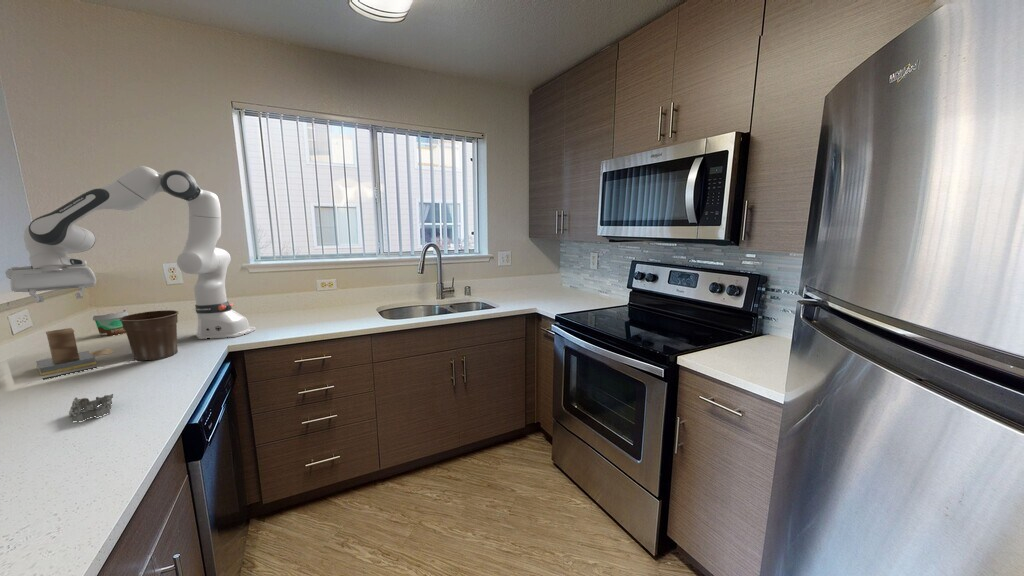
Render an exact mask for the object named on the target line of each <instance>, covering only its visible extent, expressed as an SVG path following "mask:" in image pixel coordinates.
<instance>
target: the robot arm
mask: <svg viewBox="0 0 1024 576" xmlns="http://www.w3.org/2000/svg"><path fill="white" fill-rule="evenodd" d="M159 193H166V194H169V196H172V197H174V198H178V199H181V200H184V201H186V203H187V205H188V206H187V207H188V233H187V240H186V242H185V245H184V248H183V250H182V251H181V253H180V254H179V255H178V256H177V259H176V265H177V267H178V269H179V270H181V271H182V272H183V273H185V274H189V275H198V276H197V281H196V282H195V284H194V286H193V293H194V298H195V304H194V305H195V306H194V309H195V313H196V315H197V329H196V331H197V332H196V335H195V336H196V337H197V339H198V340H208V339H207V338H210V339H225V338H227V337H228V338H237V337H241V336H244V334H245V335H247V334H249V333H252V332H255V330H256V327H255V326H250V323H249V321H248V319H247V317H246V316H243V315H242V314H241V313H239V312H238V311H235V310H234V309H233V306H234V303H230V302H229V301H228V297H227V290H226V277H227V271H228V268H229V265H230V263H231V261H232V258H231V255H230V253H229V252H228V251H227V250H225V249H224V248H220V247H216V246H217V244H218V243H217V242H218V241H219V239H220V238H221V236H222V209H221V203H220V199H219V197H218V195H217V194H216V193H214V192H212V191H211V190H205V189H201V188H200V186H199V185H198V183H197V181H196V179H195V178H194V176H192V175H191V174H189V173H188V172H186V171H183V170H178V169H173V170H169V171H166V172H165V173H160V172H158V171H157V170H155V169H154V168H152V167H148V166H146V165H138V166H137V167H134V168H132V169H130V170H128V171H127V172H125V173H123V174H122V175H120V176H119V177H118V178H116V179H115V180H113V181H112V182H110V183H108V184H106V185H105V186H102V187H99V188H93V189H91V190H88V191H86V192H84V193H82V194H81V195H79V196H76V197H75V198H74V199H72V200H70V201H68V202H67V203H65V204H63V205H61V206H60V207H58V208H57V209H55V210H53V211H51V212H49V213H48V212H47V213H46V214H43V215H40V216H39V217H36V218H35V219H33V220H32V221H31V222H30V223H29V224H28V225H27V226H25V228H24V230H23V240H24V245H25V248H26V250H27V251H28V253H29V258H28V259H29V262H30V265H29V266H26V265H25V266H12V267H11V268H8V269H6V270H5V276H6V278H7V279H10V291H11V292H13V291H14V292H13V293H15V292H23V293H28V294H29V296H30V297H32V298H33V299H35V301H36V302H35V303H44V297H43V295H41V296H40V295H38V294H36V293H37V292H44V291H45V292H46V291H57V290H69V289H70V290H71V289H77V290H78V291H79V292H76V293H75V298H76V300H77V299H83V297H84V295H83V292H84V290H85V289H86V288H92V287H95V285H96V284H97V278H96V276H95V273H94V271H93V270H92V268H90V267H89V266H88V265H87V260H85V259H80V258H74V257H67V255H68V254H77V253H78V254H79V253H83V252H87V251H89V250H91V248H93V247H94V245H95V243H96V237H95V235H96V234H94V232H93V231H91V230H89V229H87V228H84V227H82V226H80V225H77V224H76V223H77V222H78V221H81V220H83V219H84V218H85V217H87V216H88V215H90V214H91V213H93V212H95V211H96V212H97V211H101V210H116V211H122V212H123V211H126V212H127V211H134V210H136V209H139V208H140V207H141V206H143V205H144V204H145V203H147V202H148V201H149V200H150V199H151V198H152V197H153V196H155V195H157V194H159ZM228 338H227V339H228Z"/></svg>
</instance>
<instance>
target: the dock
mask: <svg viewBox="0 0 1024 576" xmlns="http://www.w3.org/2000/svg"><path fill="white" fill-rule="evenodd" d="M78 355H79V358H78V359H73V360H68V361H63V362H58V363H54V361H53V360H52V357H50V358H45V359H41V360H40V359H39V360H36V361H35V362H36V368H37V370H38V372H39V375H40V376H42V377H43V376H47V375H51V376H48V377H43V378H41V379H43V381H45V380H49V378H50V379H53V378H54V377H55V378H58V376H59V377H62V376H61V375H64V376H67V375H66V374H68V375H71V374H70V373H73V374H76V373H75V372H78V373H81V372H80V371H82V372H85V371H84V370H87V371H89V370H88V369H91V370H94V369H93V368H96V369H97V366H95V365H97V361H96V358H95V357H96V356H93V355H92V354H91V353H90V352H89V351H87V350H86V351H82V352H78ZM89 366H92V367H89ZM93 366H94V367H93ZM84 367H88V368H85V369H81V368H84ZM75 369H80V370H75ZM71 370H75V371H71ZM66 371H70V372H66ZM62 372H65V373H62ZM56 373H61V374H56ZM52 374H56V375H52ZM55 378H54V379H55Z"/></svg>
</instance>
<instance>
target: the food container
mask: <svg viewBox="0 0 1024 576" xmlns="http://www.w3.org/2000/svg"><path fill="white" fill-rule="evenodd" d="M127 315H130V314H129V313H128V311H127V310H126V309H123V311H121V312H114V313H112V312H111V313H108V314H102V315H101V314H100V315H93V317H92V321H95V325H96V327H97V330H98V333H99V336H100V337H101V336H107V337H113V335H115V336H119V335H118V334H120V335H124V334H127V333H126V330H124V328H123V325H122V322H121V321H120V320H119V318H121V317H123V316H127ZM123 333H124V334H123Z"/></svg>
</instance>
